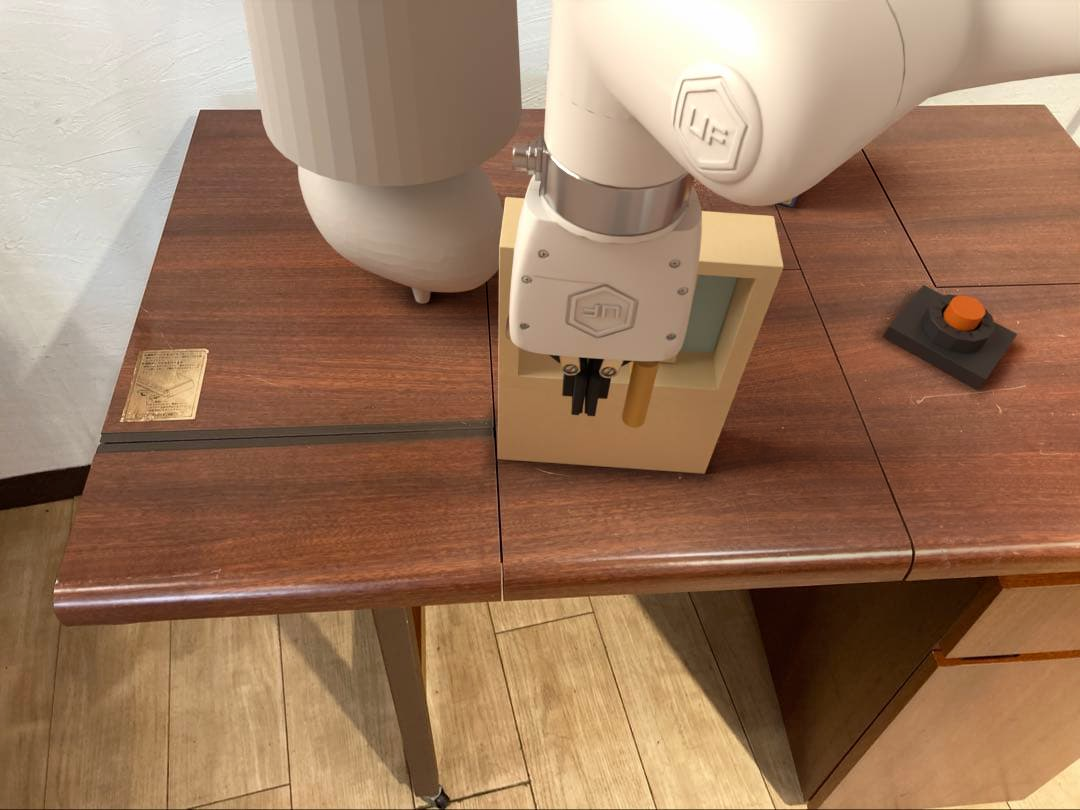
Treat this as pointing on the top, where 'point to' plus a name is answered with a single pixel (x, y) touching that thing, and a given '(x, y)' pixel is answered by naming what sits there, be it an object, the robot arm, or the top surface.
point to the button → (964, 313)
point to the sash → (641, 389)
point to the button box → (949, 338)
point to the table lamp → (394, 126)
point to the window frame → (680, 388)
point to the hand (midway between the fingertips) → (583, 398)
